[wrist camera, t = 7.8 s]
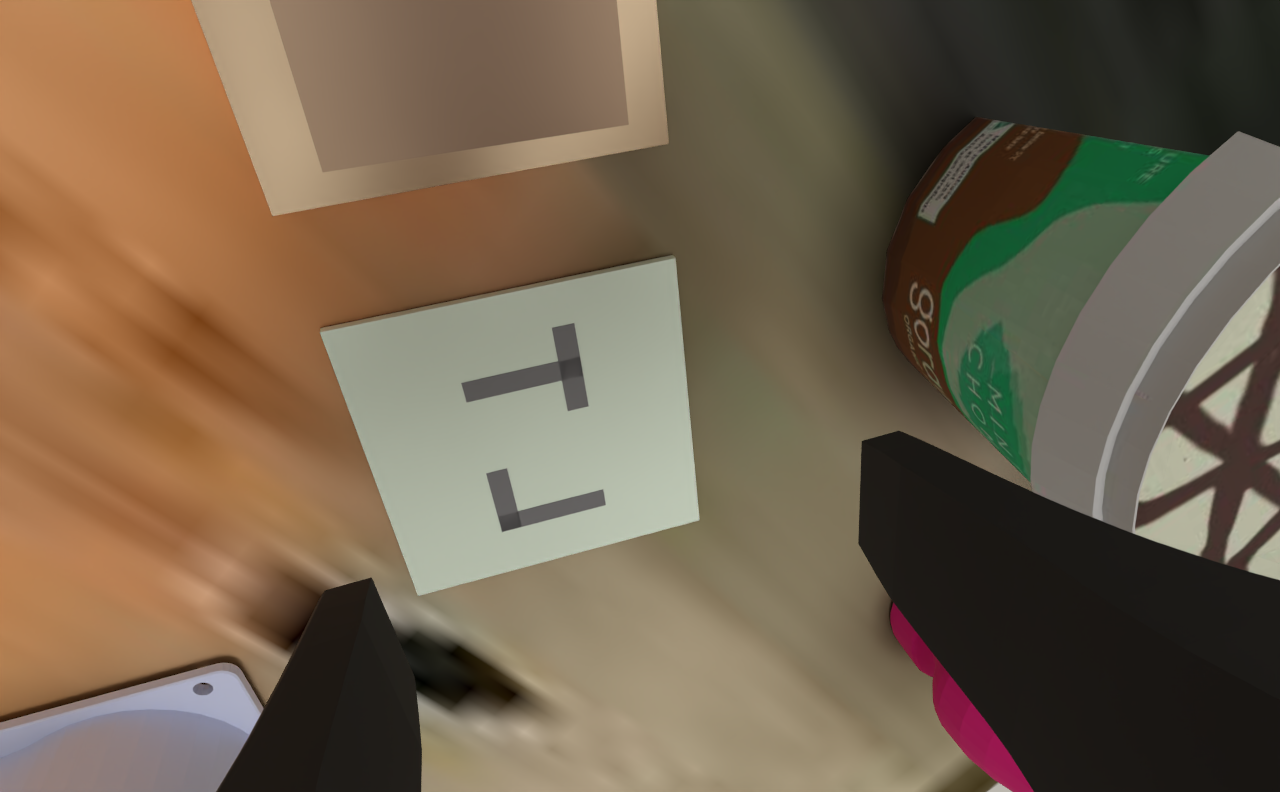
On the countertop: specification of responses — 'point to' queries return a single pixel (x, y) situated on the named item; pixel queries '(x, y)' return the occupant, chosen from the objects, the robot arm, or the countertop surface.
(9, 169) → the countertop surface
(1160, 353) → the food container
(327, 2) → the block
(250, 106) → the coaster
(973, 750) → the pepper mill
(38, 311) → the countertop surface
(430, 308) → the tile
